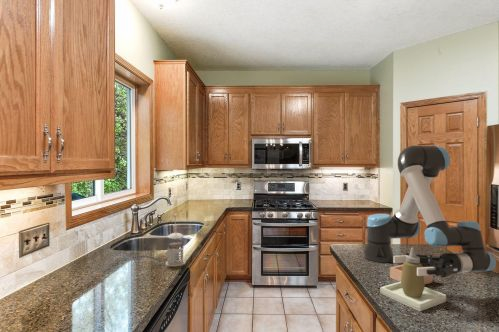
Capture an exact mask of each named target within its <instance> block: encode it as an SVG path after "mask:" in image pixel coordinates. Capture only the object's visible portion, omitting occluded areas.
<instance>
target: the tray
mask: <svg viewBox="0 0 499 332" xmlns="http://www.w3.org/2000/svg"><path fill="white" fill-rule="evenodd" d="M379 290H380V291H379V293H380V295H383V296H385V297H387V298H389V299H390V300H391V299H392V300H394V301H396V302H397V303H400V304H401V305H402V304H403V305H405V306H407V307H409V308H411V309H414V310H415V311H418V312H422V311H425V310H427V309H429V308H433V307H436V306H438V305H441V304H443V303H446V302H447V294H445V293H444V292H443V293H442V292H439V291H437V290H434V289H432V288H430V287H426V286H425V288H424V291H423V293H422V295H421V297H410V296H407V295H405V294H404V292H403V289H402V285H401V281H398V282H394V283H391V284H387V285H384V286H381V287H380V289H379Z"/></svg>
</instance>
